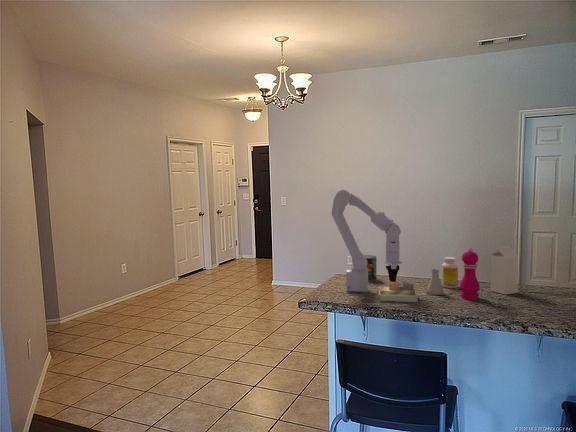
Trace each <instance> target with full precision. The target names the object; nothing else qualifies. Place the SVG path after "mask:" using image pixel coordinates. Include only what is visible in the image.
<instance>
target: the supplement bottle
mask: <svg viewBox="0 0 576 432" xmlns="http://www.w3.org/2000/svg"><path fill="white" fill-rule="evenodd" d="M443 260H444V262H443V263H442V264H441V286H442V288H446V289H457V288H458V287H459V286H458V285H459V281H458V280H459V279H458V277H459V272H458V271H459V270H458V269H459V268H458V267H459V266H458V264H457V263H456V257H451V256H445V257H444V258H443Z"/></svg>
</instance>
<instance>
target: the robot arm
mask: <svg viewBox="0 0 576 432" xmlns="http://www.w3.org/2000/svg"><path fill="white" fill-rule="evenodd" d="M332 201H333V202H332V209H331V216H332V218H333V220H334V223H335V225H336V227H337V229H338V231H339V233H340V235H341V237H342V239H343V241H344V244H345V246H346V248H347V250H348V252H349V254H350V257H351V263H352V266H351V267H350V269H349V268H348V269H346V272H345V273H346V274H345V277H346V280H345V281H346V282H345V287H346V288H345V290H346V292H357V293H358V292H359V293H360V292H361V293H363V292H364V293H369V292H370V286H369V281H368V268H366V267H367V264H368V262H367V259H366V257H365V254H364V253H362V252H361V249H360V247H359V246H358V244H357V241H356V239H355V238H354V235H353V233H352V230H351V229H350V226H349V224H348V222H347V220H346V218H345V215H344V212H345V209H346V206H348V204H349V206H354V207H357V208H358V209H359V210H360V211H362V212H363V213H364V214H366V215H367V216H368V217H370V223H372V224H373V225H375V226H376V227H377V228H379V229H380V230H381V231H382V232H383V231H384V233H385V262H384V263H385V264H386V265H385V268H386V271H387V274H388V278H389V279H388V280H389V281H390V282H397V277H398V273H399V271H400V265H401V264H403V260H400V235H401V231H402V230H401V227H400V226H399V225H398V224H396V222H394V220H393V219H390V218H389V217H388V216H386V215H385V214H386V213H385V212H384V211H375V210H374V209H373V208H371V206H369V205H368V204H367V203H366V202H364V201H363V200H362V199H360V198H359V197H358V196H356V195H354V194H353V193H351V192H349V191H347V190H345V189H340V190H339V191H337V192H336V194H335V195H334V197H333V200H332Z"/></svg>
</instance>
